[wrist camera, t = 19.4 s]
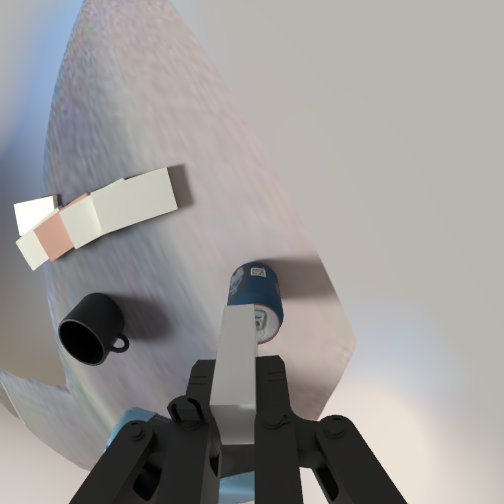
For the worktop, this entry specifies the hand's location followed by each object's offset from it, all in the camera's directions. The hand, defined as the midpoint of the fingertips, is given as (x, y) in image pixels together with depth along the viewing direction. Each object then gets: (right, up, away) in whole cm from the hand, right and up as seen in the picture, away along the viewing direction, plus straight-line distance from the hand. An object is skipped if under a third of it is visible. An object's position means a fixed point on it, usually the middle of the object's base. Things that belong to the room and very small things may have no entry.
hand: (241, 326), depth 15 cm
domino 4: (-17, +12, +23) cm, 30 cm away
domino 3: (-23, +10, +23) cm, 34 cm away
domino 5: (-10, +13, +22) cm, 28 cm away
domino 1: (-32, +11, +24) cm, 41 cm away
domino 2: (-29, +9, +23) cm, 38 cm away
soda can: (+1, 0, +28) cm, 28 cm away
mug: (-26, -8, +31) cm, 41 cm away
